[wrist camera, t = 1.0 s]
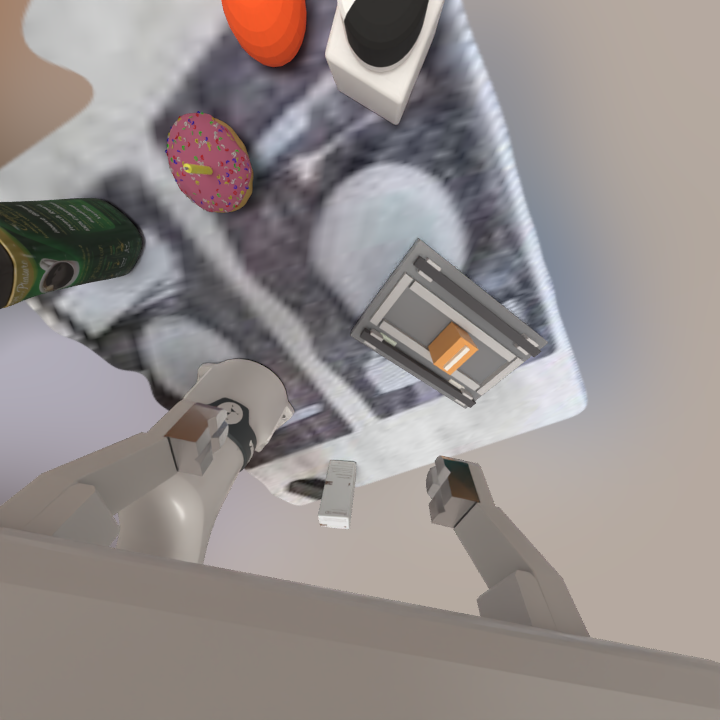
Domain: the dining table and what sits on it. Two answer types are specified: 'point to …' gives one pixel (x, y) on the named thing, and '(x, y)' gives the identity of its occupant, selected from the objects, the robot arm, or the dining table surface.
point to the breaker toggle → (451, 348)
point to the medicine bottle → (381, 50)
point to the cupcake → (209, 163)
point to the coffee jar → (62, 246)
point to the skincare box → (338, 495)
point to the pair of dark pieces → (470, 303)
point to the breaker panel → (443, 324)
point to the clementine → (268, 28)
